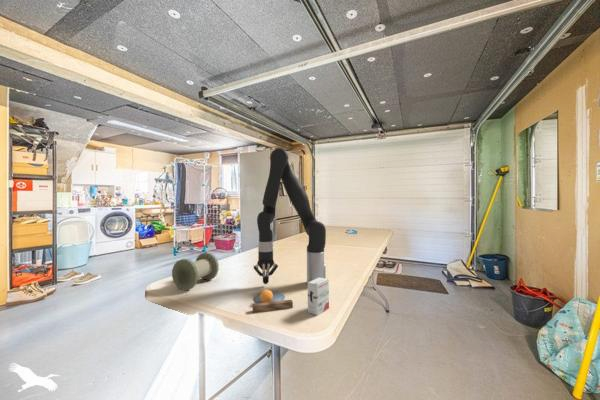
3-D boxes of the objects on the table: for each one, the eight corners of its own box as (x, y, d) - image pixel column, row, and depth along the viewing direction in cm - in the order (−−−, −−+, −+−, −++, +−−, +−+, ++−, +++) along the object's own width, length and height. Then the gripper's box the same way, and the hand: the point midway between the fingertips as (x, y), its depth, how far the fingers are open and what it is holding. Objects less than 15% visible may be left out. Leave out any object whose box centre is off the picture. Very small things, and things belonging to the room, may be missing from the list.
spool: (195, 292, 106) (195, 261, 107) (171, 288, 111) (172, 258, 112) (218, 280, 122) (218, 253, 122) (196, 277, 127) (197, 251, 127)
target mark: (281, 290, 109) (281, 289, 109) (287, 302, 95) (287, 302, 95) (252, 293, 105) (252, 292, 105) (254, 306, 91) (254, 306, 91)
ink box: (319, 304, 94) (319, 276, 94) (329, 308, 90) (329, 279, 91) (307, 312, 87) (307, 281, 87) (317, 316, 84) (317, 284, 84)
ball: (271, 288, 99) (272, 288, 94) (273, 301, 97) (274, 302, 92) (259, 290, 98) (258, 291, 93) (261, 304, 96) (260, 305, 91)
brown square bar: (291, 305, 92) (291, 299, 93) (292, 307, 91) (292, 301, 91) (252, 310, 88) (252, 304, 88) (252, 312, 86) (252, 306, 86)
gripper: (253, 252, 108) (253, 287, 108) (279, 250, 112) (279, 285, 112) (252, 249, 116) (252, 282, 115) (277, 247, 119) (277, 280, 119)
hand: (265, 283), depth 114 cm, fingers closed
